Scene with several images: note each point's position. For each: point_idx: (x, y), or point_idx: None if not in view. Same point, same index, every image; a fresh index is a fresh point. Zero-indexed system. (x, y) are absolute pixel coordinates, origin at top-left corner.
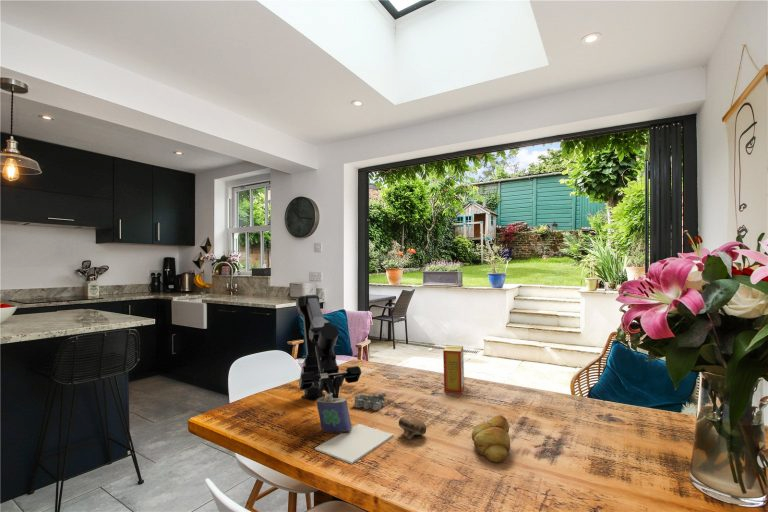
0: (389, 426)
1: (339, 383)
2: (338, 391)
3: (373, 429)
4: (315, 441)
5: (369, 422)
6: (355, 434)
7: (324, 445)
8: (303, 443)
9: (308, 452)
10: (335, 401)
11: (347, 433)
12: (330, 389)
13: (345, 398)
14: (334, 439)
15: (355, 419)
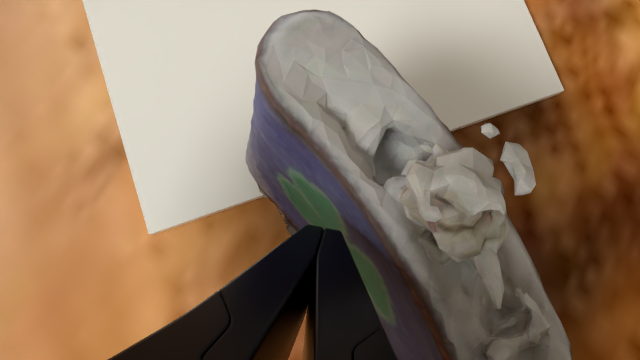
0: (2, 93)
1: (144, 355)
2: (244, 277)
3: (122, 91)
4: (514, 197)
5: (63, 232)
6: None
7: (500, 82)
8: (594, 220)
9: (605, 88)
10: (370, 157)
11: None
12: (380, 342)
13: (259, 54)
14: None
15: (109, 348)
